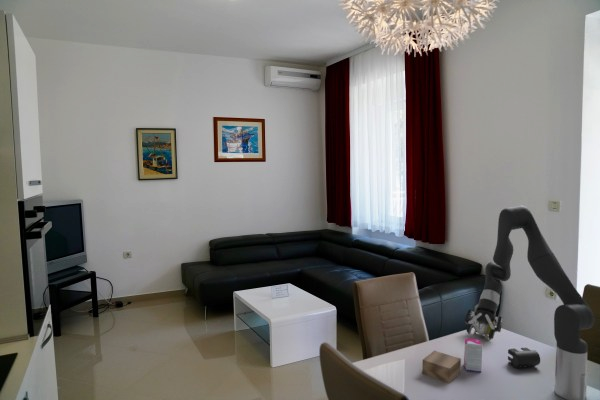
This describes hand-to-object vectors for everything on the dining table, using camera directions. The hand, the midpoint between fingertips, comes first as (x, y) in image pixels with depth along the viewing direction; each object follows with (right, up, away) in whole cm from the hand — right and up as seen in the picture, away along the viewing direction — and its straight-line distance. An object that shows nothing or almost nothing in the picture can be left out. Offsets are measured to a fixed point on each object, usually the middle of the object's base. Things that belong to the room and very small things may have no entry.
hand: (479, 336), depth 171 cm
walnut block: (-19, -12, -8) cm, 24 cm away
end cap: (+17, -12, -2) cm, 21 cm away
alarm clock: (+15, -10, +28) cm, 33 cm away
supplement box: (-5, -12, -4) cm, 14 cm away
